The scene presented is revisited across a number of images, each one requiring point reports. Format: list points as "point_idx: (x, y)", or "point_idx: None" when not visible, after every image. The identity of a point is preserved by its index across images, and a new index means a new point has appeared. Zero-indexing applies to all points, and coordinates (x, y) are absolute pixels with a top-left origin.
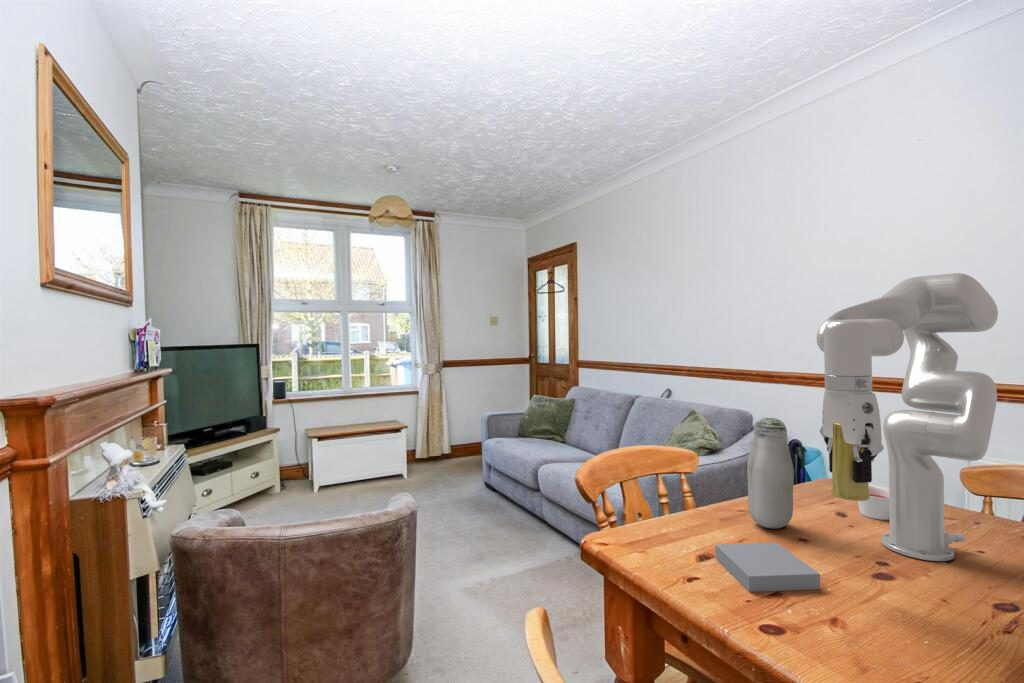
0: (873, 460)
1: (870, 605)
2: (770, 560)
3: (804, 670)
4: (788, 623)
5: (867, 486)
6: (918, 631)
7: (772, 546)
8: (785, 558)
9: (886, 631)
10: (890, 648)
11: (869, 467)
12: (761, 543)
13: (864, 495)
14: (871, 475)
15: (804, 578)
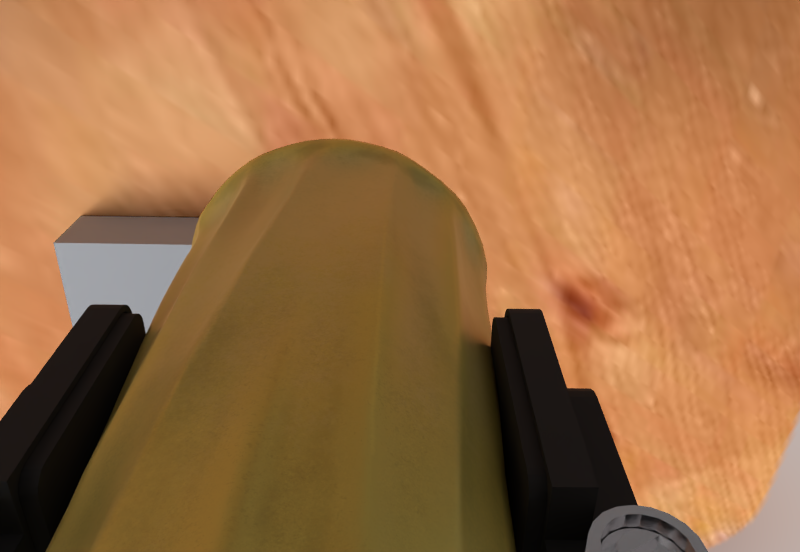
0: (694, 542)
1: (513, 108)
2: None
3: (750, 501)
4: None
5: (460, 262)
6: (700, 67)
7: (103, 286)
8: None
9: (670, 183)
10: (747, 241)
11: (623, 486)
12: (73, 314)
13: (482, 277)
14: (554, 350)
15: None
